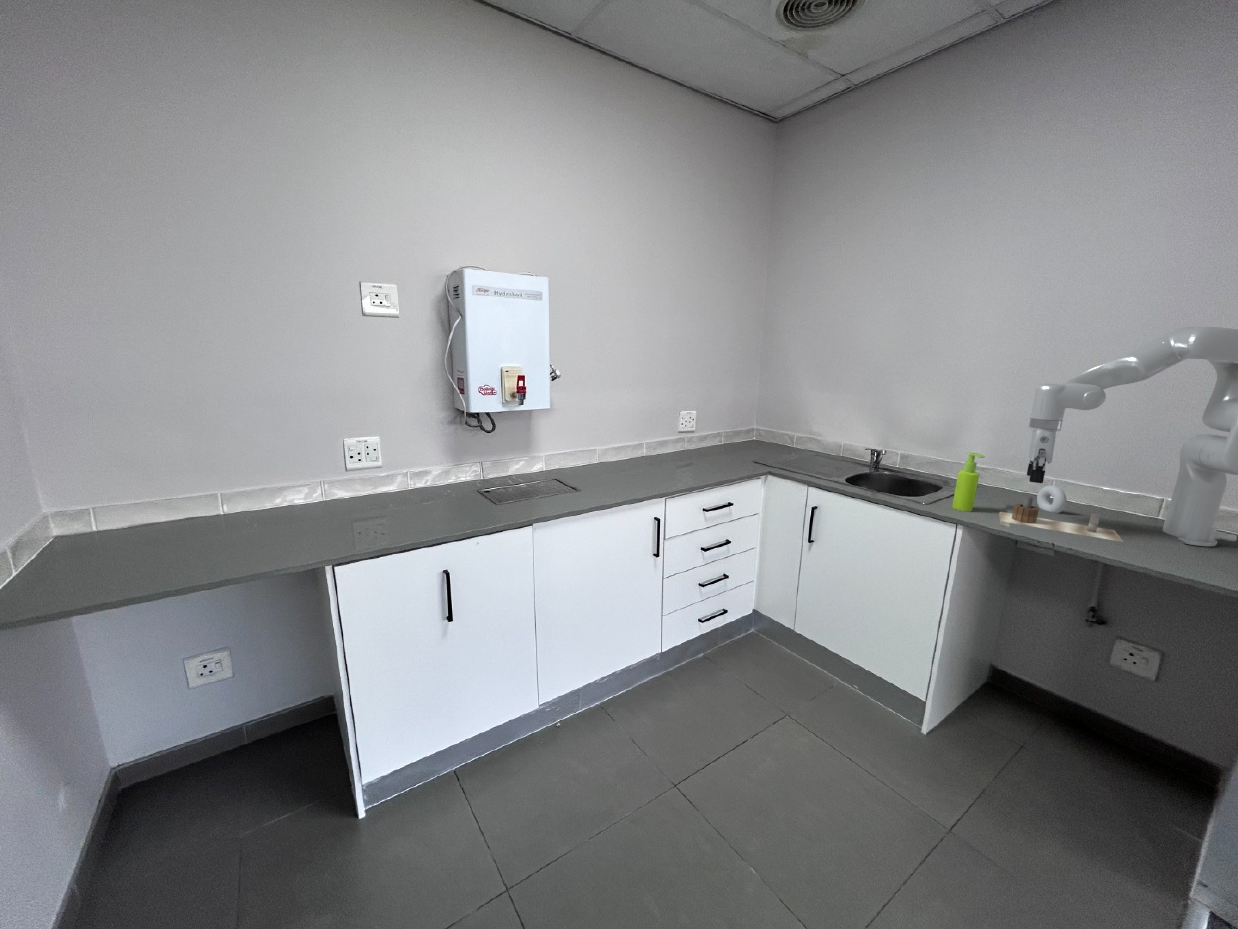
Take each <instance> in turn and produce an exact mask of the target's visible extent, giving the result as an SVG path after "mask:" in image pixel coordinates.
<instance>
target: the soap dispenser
mask: <svg viewBox="0 0 1238 929" xmlns="http://www.w3.org/2000/svg"><path fill="white" fill-rule="evenodd" d="M966 455H968V459H967V461H965V462H964V463H963V470H958V472H957V478H956V484H955V490H954V494H953V501H952V505H951V508H952V509H954V510H956V509H957V511H960V510H961V511H960V512H972V511H973V508H974V504H975V503H974V502H975V497H976V492H977V487H978V482H979V477H980V473H979V472H976V470H977V462H975V460H976V458H981V459H982V458H983V459H984V458H985V455H983V454H981V453H976V452H966ZM975 457H976V458H975Z"/></svg>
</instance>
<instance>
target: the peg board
mask: <svg viewBox="0 0 1238 929" xmlns="http://www.w3.org/2000/svg"><path fill="white" fill-rule="evenodd" d="M1033 500H1034V499H1033V497H1032V496H1031V495H1026V496H1025V497H1024V500H1023V503H1022V504H1023V507H1024V508H1031V505H1032V506H1033ZM1012 514H1013V513H1011V512H1006V511H999V515H998V518H999V525H1000V526H1001V527H1007V528H1010V527H1011V524H1015V525H1021V526H1027V527H1033V528H1039V529H1044V530H1051V531H1056V532H1062V533H1066V534H1067V533H1068V534H1074V535H1080V536H1085V537H1086V536H1087V537H1091V538H1092V537H1093V538H1097V539H1104V540H1108V541H1114V542H1115V541H1116V542H1120V543H1121V542H1122V543H1124V540H1123V539H1122V538H1121V537H1120V535H1119V534H1118V533H1117V532H1116V531H1115V529H1109V528H1103V527H1099V522H1100V519H1101V514H1100V513H1096V512H1091V513H1090V518H1089V521H1088V525H1084V524H1079V523H1073V522H1067V521H1059V520H1055V519H1047V518H1042V517H1037V520H1036V523H1024V522H1019V521H1016V520H1013V519H1012Z"/></svg>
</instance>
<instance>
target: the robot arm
mask: <svg viewBox="0 0 1238 929" xmlns="http://www.w3.org/2000/svg"><path fill="white" fill-rule="evenodd" d="M1188 359H1189V360H1206V361H1208V362H1209V363H1210V364H1211V365H1212V368H1214V370H1215V372H1216V381H1215V384H1214V388H1213V390H1212V392H1211V395H1210V397H1209V399H1208V401H1207V404H1206V407H1205V408H1204V411H1203V414H1202V417H1201V419H1202V424H1204V425H1205V427H1207V428H1209V429H1212V430H1217V431H1222V432H1227V433H1228V435H1227V436H1224V435H1218V434H1211V433H1210V434H1209V433H1207V434H1206V433H1204V434H1199V435H1195V436H1192V437H1190V438H1188V439H1186V441H1184V443H1183V444H1182V446H1181V448H1180V452H1179V469H1178V474H1177V479H1176V481H1175V485H1174V488H1173V492H1172V496H1171V499H1170V502H1169V506H1168V510H1167V513H1166V516H1165V519H1164V523H1163V527H1162V532H1164V533H1166V534H1168V535H1171V536H1173V537H1175V538H1177V539H1178V540H1179V541H1180V542H1181V543H1182V544H1186V545H1192V546H1197V547H1216V546H1217V544H1218V540H1224V541H1228V542H1237V535H1236V534H1231V533H1227V532H1225V531H1223V532H1222V531H1217V530H1216V529H1215V528H1214V526H1215V522H1216V519H1217V517H1218V514H1219V511H1220V508H1221V503H1222V501H1223V497H1224V496H1225V495H1224V494H1225V492H1226V488H1227V483H1228V481H1227V474H1230V475H1233V476H1234V475H1235V476H1237V475H1238V328H1229V327H1219V326H1194V327H1180V328H1176V329H1174V330H1171V331H1168V332H1167V333H1165V334H1163V335H1161V336H1159V337H1157V338H1155V339H1153V340H1152V341H1150V342H1148V343H1146V344H1144V345H1143V346H1141V347H1139V348H1137V349H1135V350H1133V351H1131V352H1130V353H1128V354H1125V355H1124V356H1122V357H1119V358H1115V359H1113V360H1110V361H1109V362H1106V363H1104V364H1100V365H1098V366H1095V367H1092V368H1089V369H1087V370H1085V371H1083V372H1081V373H1079V374H1077V375H1075V376H1073V377H1071V378H1070V379H1068V380H1066V381H1064V382H1062V383H1061V384H1060V383H1059V384H1058V383H1042V384H1041V383H1040V384H1039V385H1037V387H1036V388H1035V393H1034V398H1033V403H1032V409H1031V413H1030V418H1029V424H1028V429H1029V430H1032V434H1031V439H1030V443H1029V444H1030V445H1029V454H1028V457H1029V463H1028V466H1027V472H1026V476H1029V482H1030V483H1035V484H1043V483H1044V481H1045V480H1044V479H1045V475H1046V474H1045V473H1046V464H1049V465H1050V464H1052V462H1053V455H1054V451H1055V450H1054V449H1055V445H1056V444H1055V443H1056V438H1057V437H1056V436H1057V432H1061V430H1062V425H1063V421H1064V415H1065V411H1066V409H1072V410H1078V411H1080V410H1081V411H1091V410H1095V409H1097V408H1099V407H1100V406H1102V405H1103V404H1104V403H1105V401H1106V399H1107V396H1106V392H1105V389H1108V388H1112V387H1117V386H1123V385H1130V384H1135V383H1139V382H1142V381H1145V380H1148V379H1150V378H1152V377H1154V376H1156V375H1157V374H1159V373H1162V372H1163V371H1165V370H1167V369H1169V368H1171V367H1173V366H1175V365H1177V364H1179V363H1181V362H1183V361H1184V360H1185V361H1186V360H1188Z"/></svg>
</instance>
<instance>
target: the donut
mask: <svg viewBox="0 0 1238 929" xmlns="http://www.w3.org/2000/svg"><path fill="white" fill-rule="evenodd" d="M1051 497H1052V498H1053V500H1052V503H1051V500H1050V498H1051ZM1036 503H1037V506H1038V508H1039V509H1042V510H1044V511H1046V512H1050V513H1054V514H1060V513H1061V512H1062V511H1064V509H1065V508H1066V505H1067V495H1066V493H1065V491H1064V490H1063V489H1062V488H1061V487H1059V486H1058V485H1052V484H1051V485H1046V486H1044V487H1042V488H1041V489H1040V490H1039V492H1038V493H1037V497H1036Z"/></svg>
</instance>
